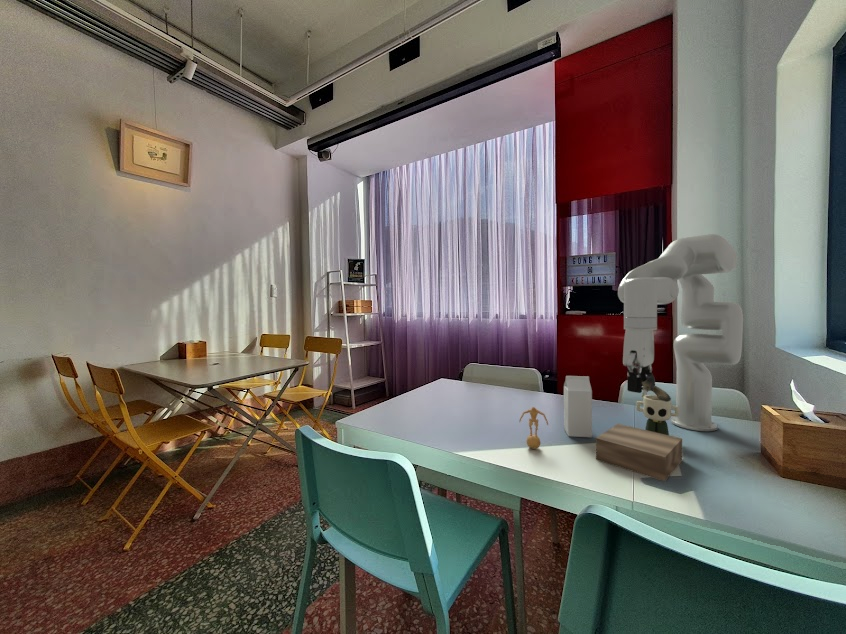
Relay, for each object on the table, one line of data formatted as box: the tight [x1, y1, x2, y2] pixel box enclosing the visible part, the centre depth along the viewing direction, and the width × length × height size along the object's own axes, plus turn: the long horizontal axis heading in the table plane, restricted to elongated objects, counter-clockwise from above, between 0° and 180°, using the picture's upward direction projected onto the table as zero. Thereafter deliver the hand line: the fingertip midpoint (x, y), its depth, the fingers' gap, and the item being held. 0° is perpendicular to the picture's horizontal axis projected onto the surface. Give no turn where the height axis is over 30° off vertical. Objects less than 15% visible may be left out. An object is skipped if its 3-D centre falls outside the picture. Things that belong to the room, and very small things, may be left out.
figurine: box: [519, 406, 549, 450], centre depth 103 cm, size 8×6×12 cm
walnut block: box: [595, 423, 683, 482], centre depth 93 cm, size 16×16×6 cm
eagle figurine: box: [626, 372, 672, 402], centre depth 90 cm, size 8×7×9 cm
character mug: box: [636, 394, 679, 436], centre depth 107 cm, size 11×7×13 cm, turn 53°
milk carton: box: [563, 375, 593, 438], centre depth 113 cm, size 7×7×19 cm
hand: (639, 388), depth 93 cm, fingers closed on eagle figurine, 7 cm apart
